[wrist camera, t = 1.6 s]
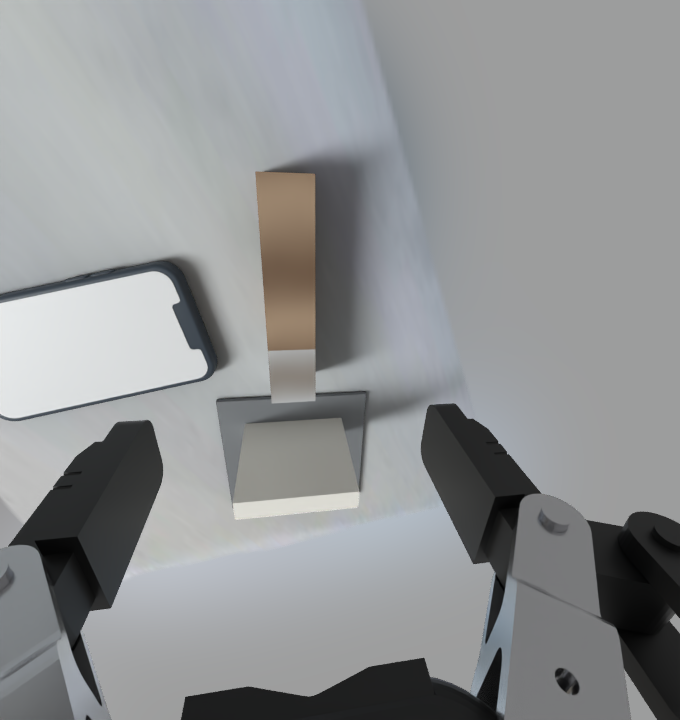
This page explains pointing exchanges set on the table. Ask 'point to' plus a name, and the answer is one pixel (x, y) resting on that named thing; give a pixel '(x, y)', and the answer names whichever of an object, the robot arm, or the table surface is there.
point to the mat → (263, 410)
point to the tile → (294, 469)
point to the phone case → (99, 340)
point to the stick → (289, 281)
